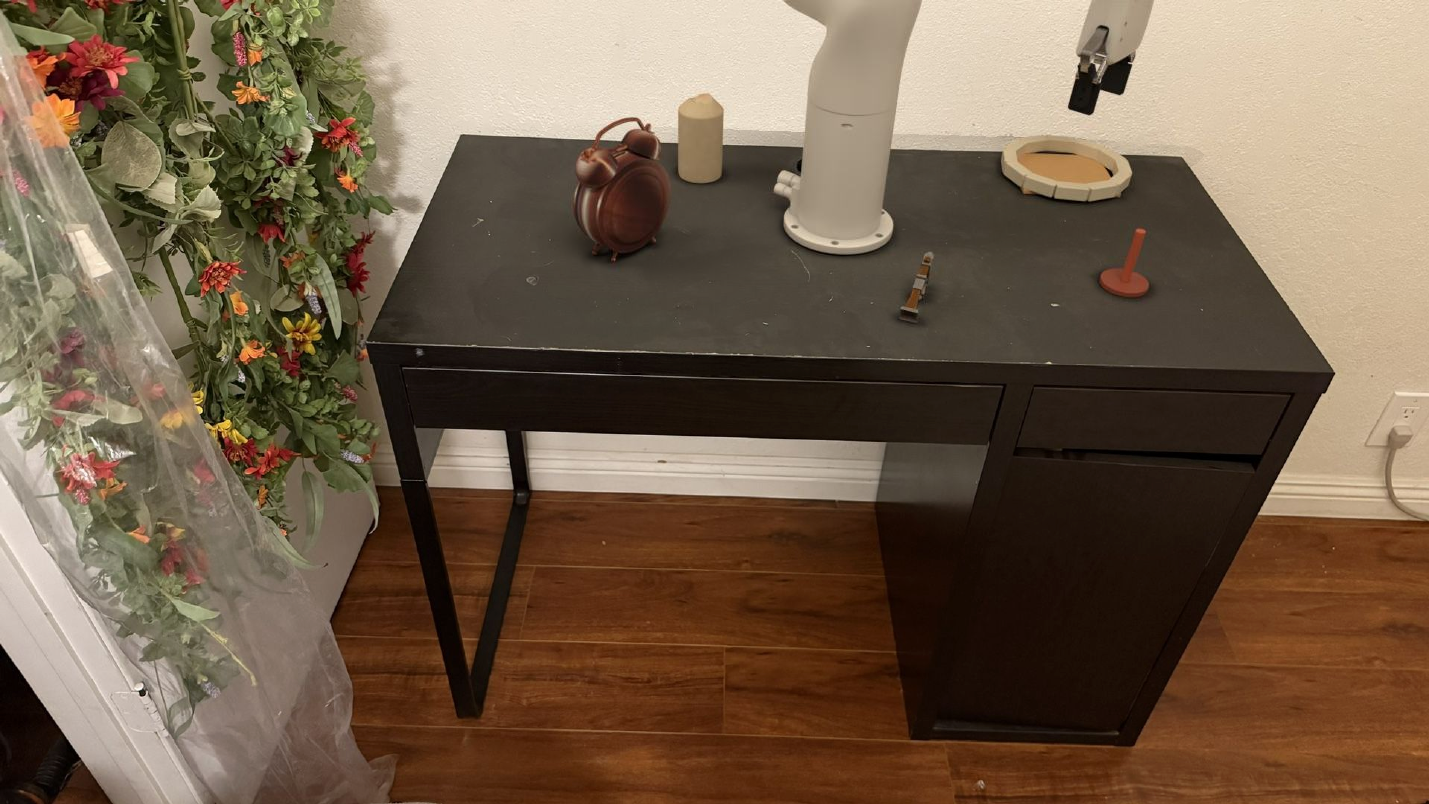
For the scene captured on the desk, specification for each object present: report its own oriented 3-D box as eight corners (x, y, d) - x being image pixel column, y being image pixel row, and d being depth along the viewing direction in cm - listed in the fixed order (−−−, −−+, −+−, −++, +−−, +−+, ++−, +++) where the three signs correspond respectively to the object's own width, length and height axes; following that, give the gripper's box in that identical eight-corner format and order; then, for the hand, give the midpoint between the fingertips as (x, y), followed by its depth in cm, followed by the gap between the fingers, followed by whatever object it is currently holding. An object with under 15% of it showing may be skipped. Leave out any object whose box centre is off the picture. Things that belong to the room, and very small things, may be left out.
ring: (1097, 213, 119) (1100, 201, 118) (979, 173, 126) (982, 162, 125) (1146, 170, 128) (1149, 159, 127) (1034, 136, 136) (1036, 125, 135)
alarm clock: (645, 225, 115) (642, 99, 105) (674, 240, 112) (674, 113, 103) (572, 258, 109) (562, 128, 99) (601, 275, 106) (593, 143, 97)
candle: (695, 160, 128) (696, 85, 122) (730, 172, 126) (733, 95, 120) (669, 175, 125) (668, 98, 119) (704, 188, 123) (706, 109, 116)
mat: (1023, 193, 123) (1024, 190, 123) (1005, 155, 132) (1006, 152, 132) (1120, 197, 123) (1121, 193, 123) (1096, 158, 132) (1097, 155, 131)
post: (1091, 286, 107) (1108, 231, 103) (1110, 268, 110) (1126, 214, 106) (1136, 303, 104) (1155, 247, 100) (1154, 284, 107) (1173, 229, 103)
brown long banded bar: (937, 275, 106) (939, 249, 102) (915, 336, 103) (917, 311, 99) (920, 271, 106) (922, 245, 102) (898, 332, 103) (900, 307, 99)
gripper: (1133, -59, 123) (1094, 77, 134) (1076, -35, 112) (1038, 111, 123) (1194, -47, 120) (1149, 92, 130) (1141, -21, 109) (1096, 129, 119)
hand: (1095, 101), depth 127 cm, fingers open, 9 cm apart
